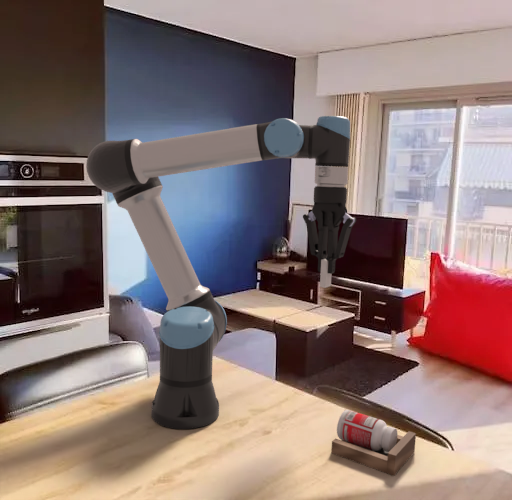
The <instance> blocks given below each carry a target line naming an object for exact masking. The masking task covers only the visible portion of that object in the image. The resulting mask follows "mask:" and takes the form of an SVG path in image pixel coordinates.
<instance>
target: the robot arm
mask: <svg viewBox="0 0 512 500" xmlns="http://www.w3.org/2000/svg"><path fill="white" fill-rule="evenodd" d="M350 144H351V121H350V119H349V118H348V117H346V116H340V115H322V116H319V117H318V118H317V121H316V124H310V125H306V124H304V125H303V124H299V123H298V122H296V121H295V120H293V119H292V118H287V117H282V118H281V117H280V118H276V119H274V120H272V121H269V122H263V123H262V122H261V123H257V124H256V123H255V124H249V125H248V124H247V125H241V126H237V127H230V128H225V129H218V130H212V131H211V130H210V131H207V132H206V131H205V132H200V133H193V134H188V135H187V134H186V135H182V136H175V137H170V138H169V137H168V138H163V139H157V140H151V141H146V142H145V141H144V142H142V141H141V140H139V139H138V138H133V139H132V138H131V139H124V140H106V141H102V142H100V143H98V144H96V145H95V146H94V147H93V148H92V149H91V151H90V152H89V153H88V156H87V159H86V172H87V177H88V178H89V180H90V181H91V183H92V184H93V185H94V186H95V187H96V188H98V189H100V190H101V191H103V192H106V193H111V194H112V196H113V198H114V201H115V202H116V204H117V207H119V208H122V209H124V210H126V211H127V212H128V216H129V218H130V219H131V221H132V223H133V226H134V228H135V230H136V233H137V235H138V237H139V238H140V240H141V242H142V245H143V247H144V249H145V251H146V253H147V256H148V259H149V260H150V263H151V265H152V267H153V269H154V271H155V273H156V275H157V278H158V280H159V282H160V284H161V287H162V289H163V291H164V293H165V295H166V297H167V299H168V302H167V305H166V307H165V310H166V312H165V313H164V314H163V315H162V317H161V319H160V324H159V325H160V326H159V328H158V329H159V332H158V335H159V383H158V385H157V388H156V391H155V395H154V398H153V401H152V404H151V418H152V420H153V421H154V422H155V423H156V424H157V425H159V426H162V427H165V428H170V429H175V430H191V429H198V428H199V429H200V428H201V427H202V428H203V427H205V426H207V425H210V424H212V423H214V422H215V421H216V420H217V419H218V417H219V415H220V402H219V399H218V398H217V395H216V392H215V391H216V390H215V388H214V387H215V385H214V384H213V357H214V356H213V354H214V351H215V349H216V347H217V345H218V343H219V342H221V341H222V339H223V337H224V336H225V333H226V330H227V325H228V319H227V318H228V317H227V314H226V311H225V309H224V306H222V304H221V303H220V302H218V301H217V300H215V298H214V296H213V293H212V291H211V290H210V288H208V287H206V286H203V284H201V282H200V280H199V278H198V275H197V274H196V272H195V269H194V267H193V265H192V262H191V260H190V258H189V256H188V254H187V251H186V249H185V247H184V245H183V243H182V241H181V238H180V237H179V234H178V232H177V230H176V227H175V226H174V224H173V221H172V219H171V216H170V215H169V212H168V211H167V208H166V206H165V204H164V202H163V200H162V197H161V193H162V190H163V184H162V182H161V179H160V177H164V176H171V175H172V176H173V175H177V174H185V173H189V172H196V171H204V170H209V169H210V170H211V169H214V168H222V167H228V166H229V167H230V166H235V165H241V164H247V163H254V162H260V161H269V160H275V159H309V160H310V159H311V160H312V159H314V160H315V165H314V183H315V185H316V186H314V188H313V206H312V208H311V211H310V212H308V213H305V214H303V215H302V218H303V220H304V223H305V225H306V231H307V238H308V243H309V250H310V254H311V256H315V257H316V258H317V272H318V273H320V275H319V278H320V279H319V288H324V289H326V288H329V287H331V286H332V274H334V273H335V271H336V261H337V260H338V259H341V258H343V257H344V256H345V253H346V248H347V246H348V243H349V242H348V241H349V239H350V235H351V232H352V228H353V226H354V225H355V224H356V222H357V218H356V217H352V216H351V215H350V214H349V213H348V209H347V207H346V205H347V199H348V197H347V195H348V188H347V187H345V186H347V185H348V183H349V180H348V178H349V160H350V159H349V158H350V147H351V146H350ZM316 221H317V222H316ZM316 223H317V224H316ZM341 223H343V225H342V227H341V231H340V234H339V230H340V224H341Z"/></svg>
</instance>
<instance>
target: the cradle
mask: <svg viewBox="0 0 512 500" xmlns="http://www.w3.org/2000/svg"><path fill="white" fill-rule="evenodd" d="M416 437H417V433H415V432H413V431H410V430H408V431H407V432H406V434H404V436H403V435H400V434H397V442H396V445H395V446H394V447H393V448H392V449H391V450H390V451H389V452H387V451H385V450H383V448H382V449H381V450H379V451H373V450H370V449H367V448H364V447H361V446H359V445H356V444H353V443H350V442H347V441H344V440H341V439H340V438H334V439H333V440H332V441H331V454H333V455H335V456H338V457H341V458H344V459H346V460H348V461H352V462H355V463H358V464H361V465H362V466H366V467H368V468H371V469H374V470H375V471H379V472H382V473H384V474H385V473H386V474H387V475H390V476H392V477H393V476H395V475H396V474H397V473H398V472H399V471H400V470H401V468H402V467H403V466H404V465H405V464H406V463H407V461H408V460H409V459H410V458H411V457H412V456H413V454H414V453H415V449H416V448H415V447H416V440H417V439H416Z"/></svg>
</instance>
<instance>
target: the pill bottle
mask: <svg viewBox="0 0 512 500" xmlns="http://www.w3.org/2000/svg"><path fill="white" fill-rule="evenodd" d="M336 435H337V438H338V439H339V440H342V441H344V442H346V441H347V442H350V443H353V444H356V445H359V446H361V447H364V448H367V449H370V450H373V451H379V450H381V449H382V448H383V450H385V451H387V452H389V451H390V450H391V449H392V448H393V447H394V446H395V445H396V442H397V435H398V429H397V428H395V427H392V426H388V425H387V423H386V422H385V421H384V420H383V419H379V418H376V417H373V416H370V415H366V414H364V413H359V412H357V411H353V410H351V409H345V410H343V411H342V413H341V414H340V416H339V419H338V422H337V425H336Z"/></svg>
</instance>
